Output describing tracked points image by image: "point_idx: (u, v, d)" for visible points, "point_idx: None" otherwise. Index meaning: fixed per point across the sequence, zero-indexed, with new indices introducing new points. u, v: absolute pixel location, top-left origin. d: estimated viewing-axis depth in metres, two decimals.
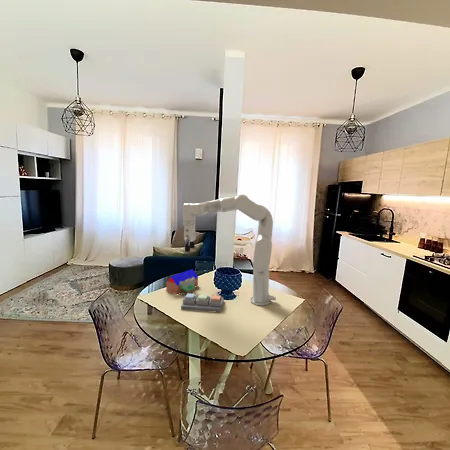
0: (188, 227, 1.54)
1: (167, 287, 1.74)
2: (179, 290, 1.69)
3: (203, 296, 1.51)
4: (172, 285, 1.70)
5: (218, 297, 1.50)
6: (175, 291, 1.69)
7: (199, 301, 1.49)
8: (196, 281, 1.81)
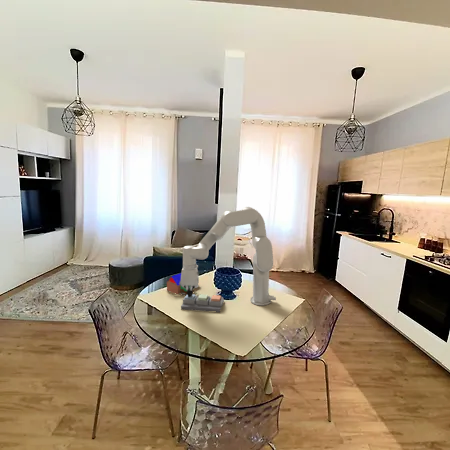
0: None
1: (168, 287, 1.74)
2: (180, 290, 1.69)
3: (203, 296, 1.51)
4: (173, 285, 1.70)
5: (218, 297, 1.50)
6: (176, 291, 1.69)
7: (199, 301, 1.49)
8: None
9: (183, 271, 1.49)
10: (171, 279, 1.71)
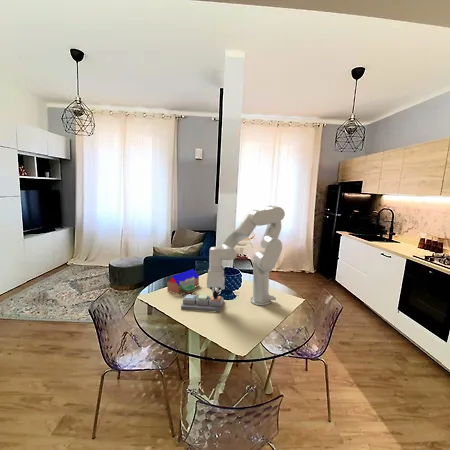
0: (223, 271, 1.48)
1: (168, 287, 1.74)
2: (180, 290, 1.69)
3: (203, 296, 1.51)
4: (173, 285, 1.70)
5: (218, 298, 1.50)
6: (176, 291, 1.69)
7: (199, 301, 1.49)
8: (197, 281, 1.82)
9: (209, 272, 1.47)
10: (172, 279, 1.71)
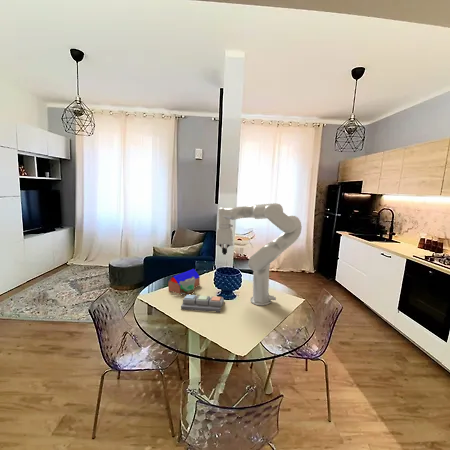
0: (231, 229, 1.64)
1: (170, 287, 1.74)
2: None
3: (203, 297, 1.52)
4: (175, 285, 1.71)
5: (218, 298, 1.50)
6: (177, 291, 1.69)
7: (199, 301, 1.49)
8: (198, 281, 1.82)
9: (219, 230, 1.62)
10: (173, 279, 1.72)
